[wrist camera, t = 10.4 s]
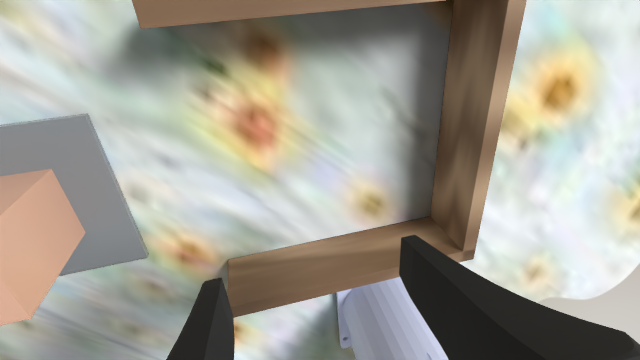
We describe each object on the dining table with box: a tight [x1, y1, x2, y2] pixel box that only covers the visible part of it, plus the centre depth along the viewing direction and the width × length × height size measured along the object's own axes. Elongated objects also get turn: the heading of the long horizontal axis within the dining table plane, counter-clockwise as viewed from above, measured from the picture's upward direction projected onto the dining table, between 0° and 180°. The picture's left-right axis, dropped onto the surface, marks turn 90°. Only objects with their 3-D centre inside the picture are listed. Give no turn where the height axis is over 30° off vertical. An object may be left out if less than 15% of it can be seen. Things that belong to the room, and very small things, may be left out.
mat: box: [0, 114, 149, 276], centre depth 19 cm, size 10×10×1 cm
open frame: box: [132, 0, 526, 318], centre depth 20 cm, size 18×18×4 cm
